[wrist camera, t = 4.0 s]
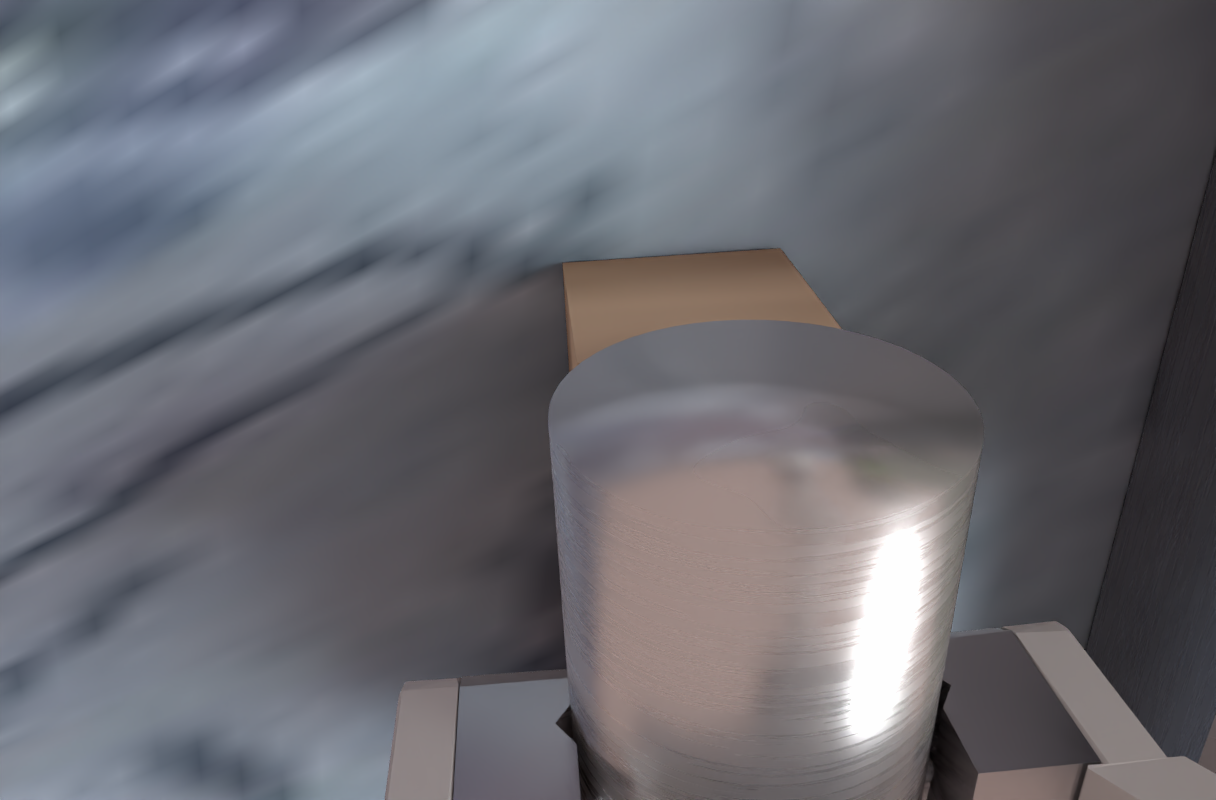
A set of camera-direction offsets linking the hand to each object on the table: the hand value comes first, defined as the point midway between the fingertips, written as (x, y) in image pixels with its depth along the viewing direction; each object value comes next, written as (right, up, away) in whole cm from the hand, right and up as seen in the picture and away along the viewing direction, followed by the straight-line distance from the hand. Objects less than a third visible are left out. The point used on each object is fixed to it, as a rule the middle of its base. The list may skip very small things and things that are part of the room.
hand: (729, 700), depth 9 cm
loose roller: (0, 0, 0) cm, 1 cm away
